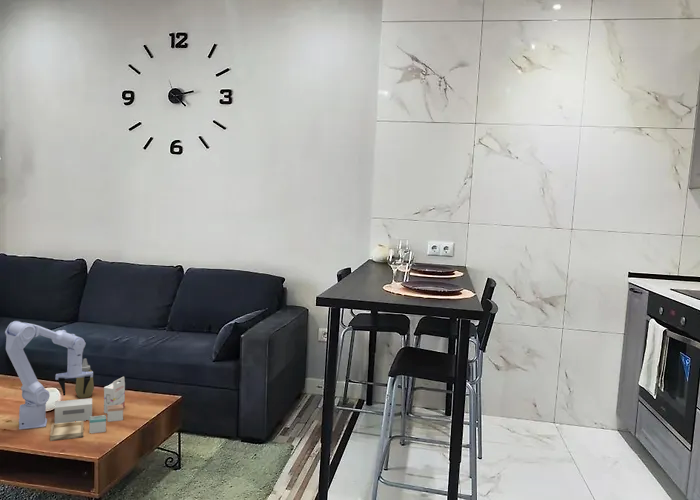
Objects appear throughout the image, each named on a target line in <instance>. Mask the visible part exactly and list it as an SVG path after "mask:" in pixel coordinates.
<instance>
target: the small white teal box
mask: <svg viewBox="0 0 700 500" xmlns="http://www.w3.org/2000/svg"><path fill="white" fill-rule="evenodd" d="M88 421H89V431H88V432H89V434H90V433H91V434H96V433H97V434H99V433H105V432H106V431H107V415H106V414H102V415H92V416H91V417H89V420H88Z"/></svg>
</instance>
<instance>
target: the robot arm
mask: <svg viewBox="0 0 700 500" xmlns="http://www.w3.org/2000/svg"><path fill="white" fill-rule="evenodd" d="M4 334H5V337H6V338H5V339H6V340H5V341H6V342H5V351H6V352H5V353H7V356H8V358H9V360H10V361H11V363H12V366H13V367H14V369H15V370H14V371H15V372H16V373H17V376H18V379H19V380H20V382H21V384H22V385H21V387H20V390H21V398H22V399H23V400H24V403H23V404H20V405H19V412H18V423H19V424H18V430H28V429H37V428H45V427H46V426H47V423H48V418H46V416H47V415H46V414H47V413H46V411H47V410H46V408H47V407H46V405H47V402H48V401H49V399H50V392H49V390H48V389H45V387H44V386H43V385H44V384H42V383H41V382H39V381H38V378H37V376H36V373H35V372H34V369H33V367H32V365H31V363H30V361H29V359H28V356H27V354H26V353H25V350H24V348H26V346H27V345H28V344H29V343H30V342H31V341H32V339H34V338H37V337H38V336H42V337H44V338H47V339H50V340H51V342H52V343H53V344H55V345H58V346H61V347H64V348H66V349H67V370H66V372H61V373H56V374H55V380H56V381H57V380H58V381H57V382H58V384H59V386H60V387H61V389H62V394H63V396H66V379H76V378H80V377H84V388H83V394H85V390H86V387H87V385H88V383H89V381H90V377H93V378H94V371H92V372H85V371H82V364H83V353H84V349H85V347H86V344H87V343H86V342H85V340H84V338H83V337H80V336H78V335H76V334H75V333H69V332H67V330H65V329H62V330H60V329H59V330H56V331H54V330H51V329H48V328H47V327H44V326H41V325H38V324H35V323H28V322H24V321H23V322H22V321H20V320H14V321H11V322H10V323H9V324H8V325H7V328H5V331H4Z"/></svg>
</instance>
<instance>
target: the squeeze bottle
mask: <svg viewBox="0 0 700 500" xmlns="http://www.w3.org/2000/svg"><path fill="white" fill-rule="evenodd" d="M82 371H85V372H93V370H92V369H91V365H90V364H89V363H88V359H87V358H83V359H82ZM75 380H76V381H75V385H74V386H75V388H74V392H75V393H76V396H77V398H78V399H79V398H80V399H88V398H89V397H90V398H91V397H92V395H93V392H94V390H95V385H94V376H93V377H90V381H89V383H88V385H87V387H86V390H85V394H83V388H84V377H80V378H75Z"/></svg>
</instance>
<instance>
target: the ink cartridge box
mask: <svg viewBox="0 0 700 500" xmlns="http://www.w3.org/2000/svg"><path fill="white" fill-rule="evenodd" d="M125 380H126V379H125V376H122V377H120V378H118V379H116V380H114V381H113V382H112V383H110V384H109V385H106V386H104V387H103V413H104V414H107V410H108V409H107V406H111V405H121V404H123V409H124V408H125V403H126V402H125V401H126V400H125V399H126V398H125V397H126V395H125V394H126V393H125V392H126V390H125V389H126V382H125Z"/></svg>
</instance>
